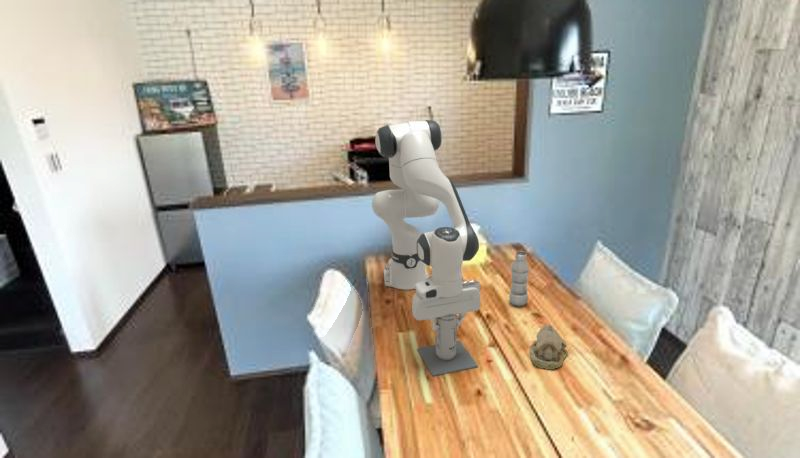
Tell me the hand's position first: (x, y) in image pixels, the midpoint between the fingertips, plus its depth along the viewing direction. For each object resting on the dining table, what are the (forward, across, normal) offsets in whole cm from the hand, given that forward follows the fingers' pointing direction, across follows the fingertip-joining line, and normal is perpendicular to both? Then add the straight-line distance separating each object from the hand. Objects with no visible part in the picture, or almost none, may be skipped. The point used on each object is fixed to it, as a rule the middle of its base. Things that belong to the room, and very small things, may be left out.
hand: (446, 327), depth 135 cm
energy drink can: (+10, 0, -1) cm, 10 cm away
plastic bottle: (+11, -37, -23) cm, 45 cm away
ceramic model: (+11, -29, +8) cm, 32 cm away
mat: (+11, 0, 0) cm, 11 cm away
